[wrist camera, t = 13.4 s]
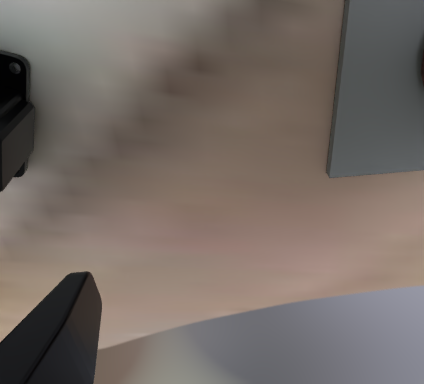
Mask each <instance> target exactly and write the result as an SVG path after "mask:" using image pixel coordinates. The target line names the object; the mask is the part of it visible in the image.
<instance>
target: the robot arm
mask: <svg viewBox="0 0 424 384" xmlns="http://www.w3.org/2000/svg"><path fill="white" fill-rule="evenodd" d="M13 63H17V64H18V65H19V66H20V68H21V71H17V70H15V69H14V68H13ZM29 75H30V68H29V64H28V62H27V60H26V59H24V58H23V57H22V56H19V55H16V54H12V53H8V52H5V51H1V50H0V192H1V191H3V190H4V189H5V187H6V186H7V185H8V183H9V182H10V181H11V179H12V178H13V177H21V176H22V175H23V174H24V173H25V172H26V170H27V161H28V156H29V155H30V154H31V152H32V151H33V148H34V117H35V107H34V106H33V104H32V103H31V102H29ZM19 169H20V170H19ZM101 312H102V301H101V297H100V294H99V292H98V289H97V286H96V283H95V281H94V278H93V276H92V274H91V273H90V272H76V273H70V274H68V275H67V276H66V277H65V278H64V279H63V280H62V281H61V282H60V283H59V284H58V285H57V286H56V287H55V288H54V289H53V290H52V291H51V292H50V293H49V294H48V295H47V296H46V297H45V298H44V299H43V300H42V301H41V302H40V303H39V304H38V305H37V306H36V307H35V308H34V309H33V310H32V311H31V312H30V313H29V314H28V315H27V316H26V317H25V318H24V319H23V320H22V321H21V322H20V323H19V324H18V325H17V326H16V327H15V328H14V329H13V330H12V331H11V332H10V333H9V334H8V335H7V336H6V337H5V338H4V339H3V340H2V341H1V342H0V384H93V382H94V375H95V366H96V358H97V349H98V340H99V331H100V321H101Z"/></svg>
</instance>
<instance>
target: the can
mask: <svg viewBox="0 0 424 384" xmlns="http://www.w3.org/2000/svg"><path fill="white" fill-rule="evenodd" d="M421 77H422V81H423V85H424V51H423V57H422V65H421Z"/></svg>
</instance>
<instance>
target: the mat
mask: <svg viewBox="0 0 424 384" xmlns="http://www.w3.org/2000/svg"><path fill="white" fill-rule="evenodd" d="M423 51H424V0H345V8H344V17H343V26H342V35H341V44H340V53H339V63H338V72H337V81H336V90H335V99H334V108H333V117H332V126H331V135H330V144H329V154H328V163H327V172H326V173H327V174H328V176H329V178H335V177H347V176H359V175H371V174H383V173H395V172H407V171H419V170H424V85H423V81H422V77H421V65H422V57H423Z"/></svg>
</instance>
